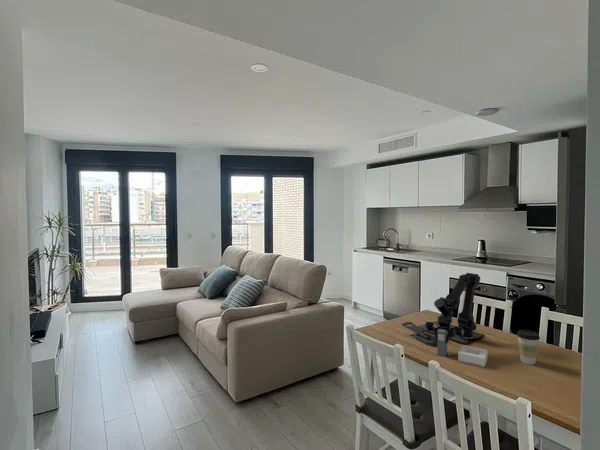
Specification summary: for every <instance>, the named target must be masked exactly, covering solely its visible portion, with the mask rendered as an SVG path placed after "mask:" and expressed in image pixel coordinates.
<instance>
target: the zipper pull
mask: <svg viewBox="0 0 600 450" xmlns="http://www.w3.org/2000/svg"><path fill="white" fill-rule="evenodd" d="M401 326H403V328H407V329H408V330H410V331H411V332H414V333H416V334H414V339H415V340H416V341H418V342H420V343H422V344H424V345H426V346H429V347H435V346H437V347H438V343H437V339H436V334H432V333H431V332H428V331H426V330H424V329H422V328H421V327H420V326H418V325H416V324H415V323H413V322H412V321H405V322H402V323H401Z"/></svg>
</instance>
